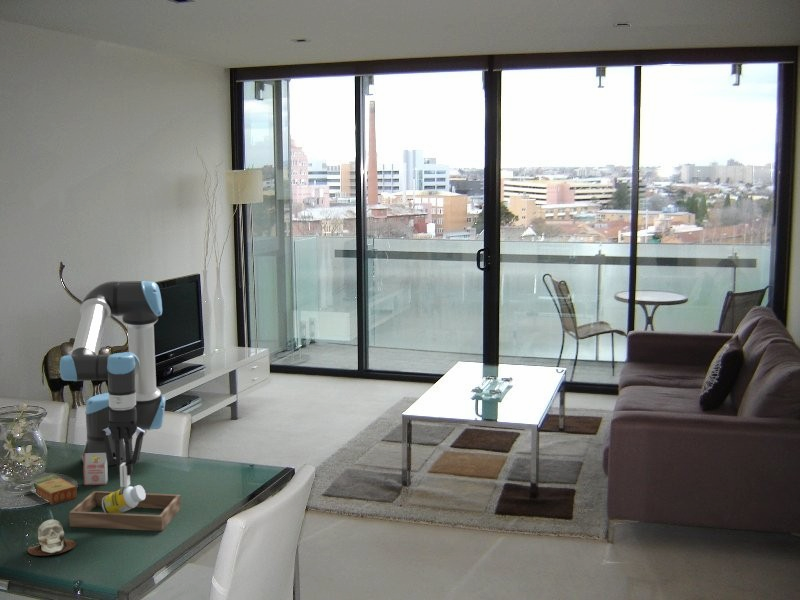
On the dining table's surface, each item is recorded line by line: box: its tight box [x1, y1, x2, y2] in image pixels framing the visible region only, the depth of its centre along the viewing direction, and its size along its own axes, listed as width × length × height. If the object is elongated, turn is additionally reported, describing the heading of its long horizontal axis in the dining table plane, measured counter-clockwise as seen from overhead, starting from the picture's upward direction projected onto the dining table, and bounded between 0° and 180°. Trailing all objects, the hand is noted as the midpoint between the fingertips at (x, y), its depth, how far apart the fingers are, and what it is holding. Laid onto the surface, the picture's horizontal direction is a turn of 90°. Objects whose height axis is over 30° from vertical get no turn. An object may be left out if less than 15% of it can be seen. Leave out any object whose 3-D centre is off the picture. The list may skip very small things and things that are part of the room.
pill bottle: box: [101, 484, 147, 514], centre depth 255 cm, size 6×6×12 cm
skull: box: [27, 519, 77, 556], centre depth 234 cm, size 12×10×10 cm
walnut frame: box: [68, 490, 182, 532], centre depth 256 cm, size 17×27×4 cm, turn 86°
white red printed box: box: [82, 453, 109, 486], centre depth 283 cm, size 4×7×10 cm, turn 98°
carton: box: [34, 473, 78, 505], centre depth 272 cm, size 8×16×4 cm, turn 46°
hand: (125, 485), depth 254 cm, fingers closed
